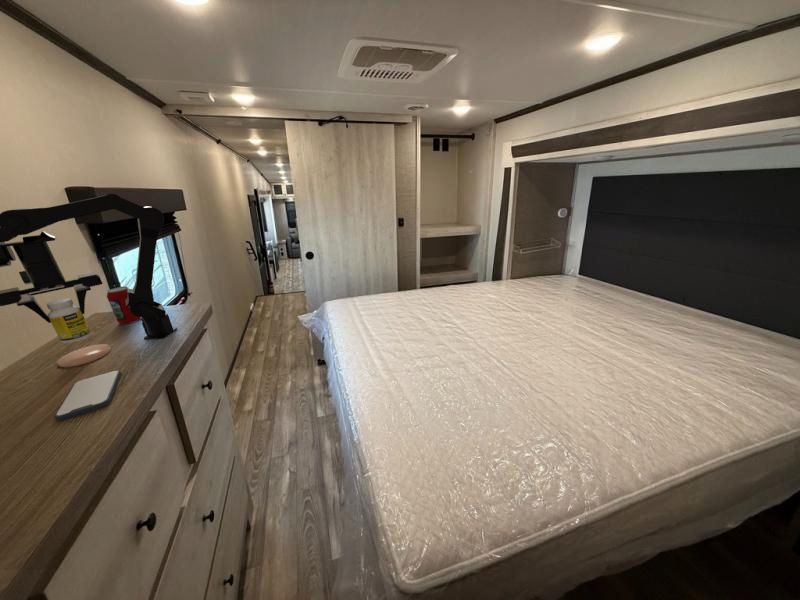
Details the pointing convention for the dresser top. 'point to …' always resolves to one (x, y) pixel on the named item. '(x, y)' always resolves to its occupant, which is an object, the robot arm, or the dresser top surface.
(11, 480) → the dresser top surface
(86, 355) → the tan round disc
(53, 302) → the pill bottle
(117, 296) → the beverage can
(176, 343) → the dresser top surface
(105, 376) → the phone case
